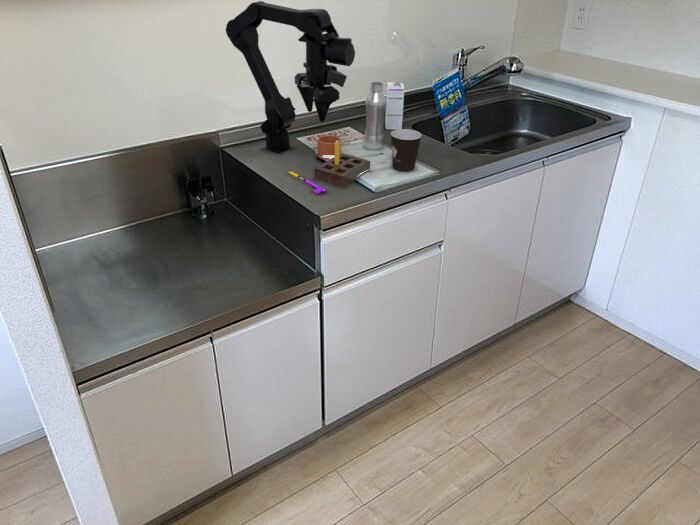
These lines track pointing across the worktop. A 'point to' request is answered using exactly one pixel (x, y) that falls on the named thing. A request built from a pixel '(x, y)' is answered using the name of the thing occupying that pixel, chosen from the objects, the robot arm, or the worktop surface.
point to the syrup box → (394, 105)
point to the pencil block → (342, 170)
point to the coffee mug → (404, 149)
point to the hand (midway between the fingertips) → (316, 116)
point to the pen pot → (327, 145)
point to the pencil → (337, 152)
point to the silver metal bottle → (374, 117)
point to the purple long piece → (318, 188)
